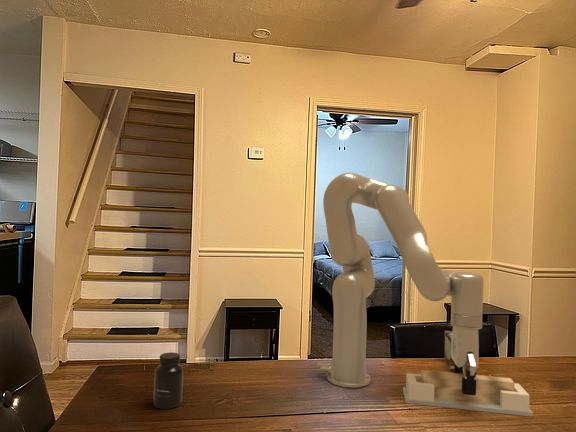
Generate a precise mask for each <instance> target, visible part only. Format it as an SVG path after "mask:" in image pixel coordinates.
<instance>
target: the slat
mask: <svg viewBox="0 0 576 432" xmlns="http://www.w3.org/2000/svg"><path fill="white" fill-rule="evenodd" d="M420 374H421V383H430V384H434V386H435V389H434V398H435V399H445V400H454V401H464V402H474V403H483V404H493V405H500V390H502V391H513V392H514V383H515V382H514V380H513V379H512V378H511V377H502V376H501V377H500V376H490V375H479V374H476V395H465V394H462V377H463V378H464V376H463V374H459V373H454V372H447V371H435V370H423V369H421V373H420Z"/></svg>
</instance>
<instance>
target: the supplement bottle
mask: <svg viewBox="0 0 576 432" xmlns="http://www.w3.org/2000/svg"><path fill="white" fill-rule="evenodd" d="M158 362H159V363H158V364H159V365H157V367H156V368H155V370H154V381H153V382H154V383H153V405H154V407H155V408H157V409H159V408H160V409H159V410H171V409H170V408H173V409H175V408H174V407H176V408H177V406H178V407H179V406H180V405H181V404H182V402H183V388H184V385H183V384H184V367H183V366H182V364H180V362H181V355H180V353H177V352H165V353H162V354H160V356H159V361H158Z"/></svg>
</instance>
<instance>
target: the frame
mask: <svg viewBox="0 0 576 432" xmlns="http://www.w3.org/2000/svg"><path fill="white" fill-rule="evenodd" d="M405 374H406V376H405V378H406V379H405V381H406V382H405V386H403V387H402V392H403V393H402V394H403V398H404V403H405V404H409V405H418V406H428V407H429V406H430V407H438V408H447V409H448V408H449V409H455V410H456V409H457V410H466V411H467V410H468V411H477V412H486V413H493V414H494V413H495V414H503V415H514V416H523V417H530V418H531V417H534V412H533V411H532V409H530V400H531V399H530V398H531V396H530V394H529V393H528V392H527V391H526V390H525V388H523V387H522V386H521V384H520V383H518V382H517V383H516V382H514V392H513V391H502V390H500V405H493V404H483V403H474V402H464V401H454V400H445V399H435V398H434V389H435V386H434V384H430V383H421V373H420V374H419V373H410V372H406V373H405Z"/></svg>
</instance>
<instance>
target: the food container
mask: <svg viewBox="0 0 576 432" xmlns="http://www.w3.org/2000/svg"><path fill="white" fill-rule="evenodd" d="M452 331H453V330H452ZM452 331H451V330H444V363H445V364H446V367H447V369H448V370H449V372H454V365H456V364H455V363H454V361H453V359H452V357H451V343H452Z"/></svg>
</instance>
